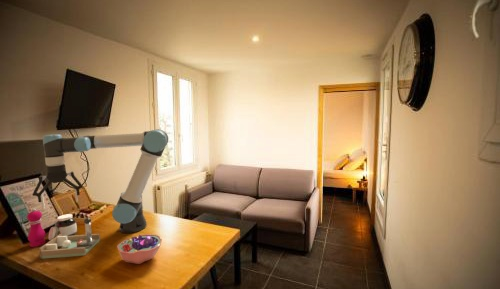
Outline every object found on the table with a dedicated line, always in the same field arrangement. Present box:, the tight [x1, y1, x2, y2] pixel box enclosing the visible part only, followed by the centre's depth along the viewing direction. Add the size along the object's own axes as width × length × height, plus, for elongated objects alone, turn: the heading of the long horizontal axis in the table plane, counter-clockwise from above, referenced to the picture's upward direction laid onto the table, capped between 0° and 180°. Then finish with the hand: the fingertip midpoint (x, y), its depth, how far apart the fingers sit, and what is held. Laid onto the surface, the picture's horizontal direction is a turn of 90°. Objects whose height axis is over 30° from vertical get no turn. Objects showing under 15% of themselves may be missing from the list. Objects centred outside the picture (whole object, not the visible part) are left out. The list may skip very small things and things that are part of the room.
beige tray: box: [38, 233, 101, 260], centre depth 122 cm, size 20×15×5 cm
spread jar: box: [47, 213, 78, 241], centre depth 134 cm, size 12×11×12 cm
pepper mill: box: [26, 207, 46, 248], centre depth 126 cm, size 7×7×20 cm
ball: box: [61, 240, 71, 247], centre depth 121 cm, size 4×4×4 cm
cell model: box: [116, 233, 163, 265], centre depth 111 cm, size 17×20×11 cm
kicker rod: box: [77, 217, 95, 247], centre depth 122 cm, size 7×4×15 cm, turn 97°
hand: (60, 204), depth 122 cm, fingers open, 13 cm apart
